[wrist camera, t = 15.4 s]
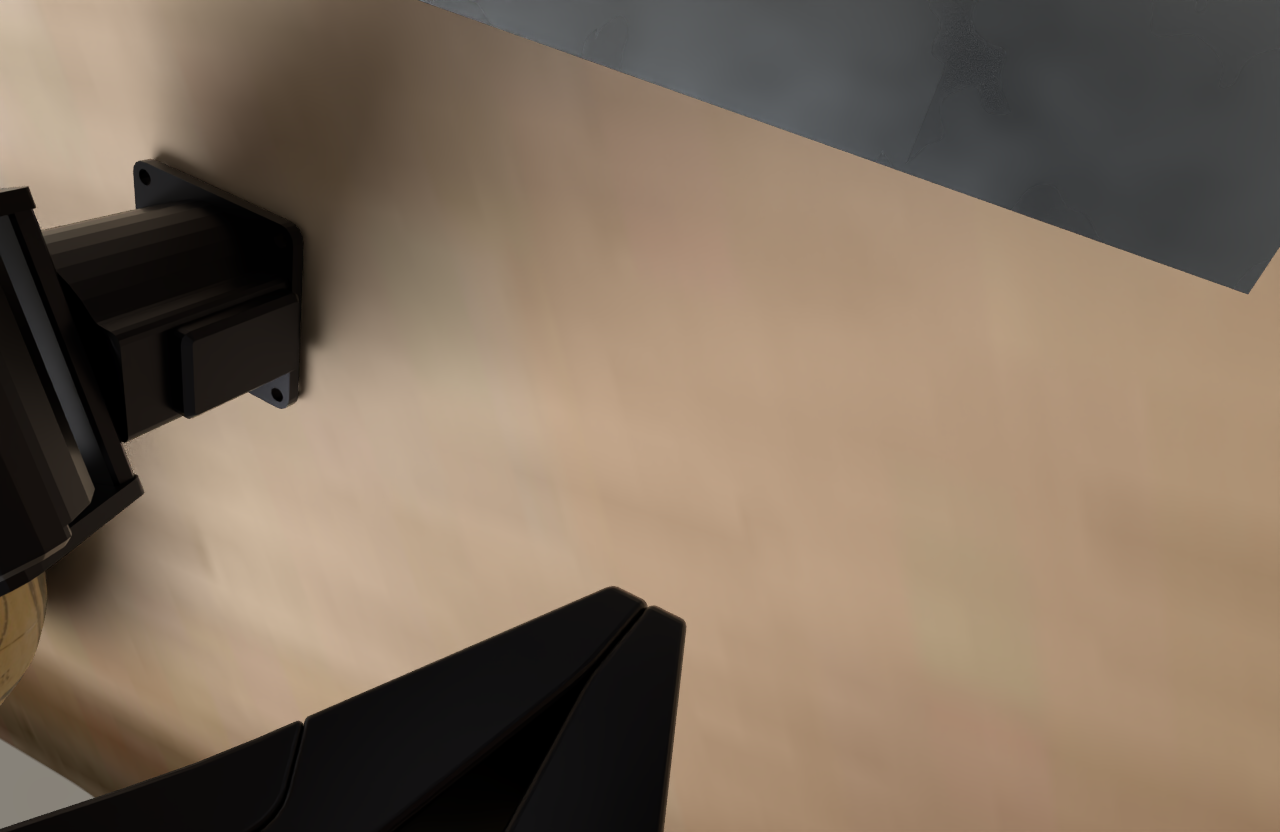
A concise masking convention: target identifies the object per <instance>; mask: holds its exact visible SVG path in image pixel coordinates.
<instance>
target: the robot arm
mask: <svg viewBox="0 0 1280 832" xmlns="http://www.w3.org/2000/svg"><path fill="white" fill-rule="evenodd" d="M133 175H134V189H135V204H136V209H135V210H130V211H126V212H121V213H117V214H112V215H108V216H103V217H99V218H94V219H90V220H85V221H81V222H76V223H72V224H68V225H63V226H59V227H54V228H50V229H45V230H41V229H40V227H39V224H38V221H37V219H36V216H35V214H34V211H33V209H34V208H36V205H35V202H34V200H33V197H32V194H31V192H30V189H29V186H26V187H13V188H1V189H0V597H1V596H3V595H5V594H8V593H10V592H12V591H14V590H16V589H17V588H19V587H21V586H23V585H25V584H26V583H28V582H30V581H31V580H33V579H34V578H36V577H37V576H39V575H40V574H42V573H43V572H45V571H46V570H47V569H48V568H50V567H51V566H52V565H53V564H55V563H56V562H57V561H59V560H60V559H61V558H62V557H64V556H65V555H66V554H67V553H69V552H70V551H71V550H73V549H74V548H75V547H76V546H78V545H79V544H80V543H82V542H83V541H84V540H85V539H87V538H88V537H89V536H90V535H92V534H93V533H94V532H96V531H97V530H98V529H99V528H101V527H102V526H103V525H104V524H106V523H107V522H108V521H110V520H111V519H112V518H113V517H115V516H116V515H117V514H119V513H120V512H121V511H122V510H124V509H125V508H126V507H127V506H129V505H130V504H131V503H133V502H134V501H135V500H136V499H138V498H139V497H140V496H141V495H143V494H144V490H143V487H142V485H141V482H140V479H139V477H138V475H136V474H134V473H133V471H132V468H131V466H130V463H129V460H128V458H127V455H126V452H125V450H124V447H123V445H122V442H124V443H125V442H128V441H130V440H132V439H134V438H136V437H138V436H141V435H143V434H145V433H147V432H149V431H151V430H153V429H156V428H158V427H160V426H162V425H164V424H166V423H169V422H171V421H173V420H175V419H177V418H179V417H181V416H184V417H186V418H188V419H191V418H194V417H196V416H199V415H201V414H203V413H205V412H207V411H209V410H211V409H213V408H215V407H218V406H220V405H222V404H224V403H226V402H228V401H230V400H232V399H235V398H237V397H239V396H241V395H243V394H245V393H247V392H249V393H250V394H252V395H254V396H256V397H258V398H260V399H262V400H264V401H266V402H267V403H269V404H271V405H273V406H275V407H277V408H280V409H283V408H286V407H288V406H290V405H292V404H294V403H295V402H296V401H297V398H298V379H299V350H300V322H301V293H302V265H303V237H302V234H301V232H300V230H299V229H298V227H297V226H296V225H295V224H294V223H292V222H291V221H288V220H286V219H284V218H282V217H280V216H277V215H275V214H273V213H271V212H269V211H266V210H264V209H262V208H260V207H258V206H256V205H253V204H251V203H249V202H247V201H245V200H242V199H240V198H238V197H236V196H234V195H231V194H229V193H227V192H225V191H223V190H220V189H218V188H216V187H214V186H212V185H209V184H207V183H205V182H203V181H201V180H198V179H196V178H194V177H192V176H190V175H187V174H185V173H183V172H181V171H179V170H176V169H174V168H172V167H170V166H168V165H166V164H163V163H161V162H159V161H157V160H154V159H148V160H142V161H138V162H136V163H135V165H134V169H133ZM284 236H285V238H286V240H285V239H284ZM286 241H287V242H286ZM685 635H686V623H685V621H684V620H683V619H682V618H680V617H678V616H676V615H674V614H672V613H670V612H668V611H666V610H664V609H662V608H660V607H657V606H649V607H647V604H646V602H645V601H644V600H643V599H641V598H639V597H637V596H635V595H633V594H631V593H629V592H627V591H625V590H623V589H621V588H619V587H616V586H611V587H607V588H604V589H602V590H599V591H597V592H595V593H593V594H590V595H588V596H586V597H583V598H581V599H579V600H576V601H574V602H572V603H569V604H567V605H565V606H562V607H560V608H558V609H555V610H553V611H551V612H549V613H546V614H544V615H542V616H539V617H537V618H535V619H532V620H530V621H528V622H525V623H523V624H521V625H518V626H516V627H514V628H512V629H509V630H507V631H505V632H502V633H500V634H498V635H495V636H493V637H491V638H488V639H486V640H484V641H481V642H479V643H477V644H475V645H472V646H470V647H468V648H465V649H463V650H461V651H458V652H456V653H454V654H451V655H449V656H447V657H444V658H442V659H440V660H437V661H435V662H433V663H431V664H428V665H426V666H424V667H421V668H419V669H417V670H414V671H412V672H410V673H407V674H405V675H403V676H400V677H398V678H396V679H394V680H391V681H389V682H387V683H384V684H382V685H380V686H377V687H375V688H373V689H370V690H368V691H366V692H363V693H361V694H359V695H357V696H354V697H352V698H350V699H347V700H345V701H343V702H340V703H338V704H336V705H333V706H331V707H329V708H326V709H324V710H322V711H319V712H317V713H315V714H313V715H310V716H308V717H307V718H306V719H305V722H304V726H303V723H302V722H301V721H296V722H293V723H291V724H289V725H286V726H284V727H282V728H279V729H277V730H275V731H272V732H270V733H268V734H265V735H263V736H261V737H258V738H256V739H254V740H251V741H249V742H246V743H244V744H241V745H239V746H236V747H234V748H231V749H229V750H226V751H224V752H221V753H219V754H216V755H214V756H211V757H209V758H207V759H204V760H202V761H199V762H197V763H194V764H191V765H188V766H186V767H183V768H180V769H177V770H174V771H171V772H169V773H166V774H163V775H160V776H157V777H154V778H152V779H149V780H146V781H143V782H140V783H137V784H135V785H132V786H129V787H126V788H123V789H120V790H117V791H114V792H111V793H108V794H105V795H102V796H99V797H96V798H93V799H90V800H87V801H84V802H81V803H78V804H75V805H72V806H69V807H66V808H63V809H60V810H56V811H53V812H51V813H47V814H44V815H41V816H38V817H35V818H33V819H29V820H26V821H23V822H20V823H17V824H14V825H11V826H8V827H5V828H2V829H0V832H664V823H665V814H666V805H667V796H668V787H669V778H670V769H671V760H672V752H673V743H674V734H675V725H676V716H677V707H678V698H679V689H680V680H681V671H682V662H683V653H684V644H685Z"/></svg>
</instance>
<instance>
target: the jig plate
mask: <svg viewBox="0 0 1280 832" xmlns="http://www.w3.org/2000/svg"><path fill="white" fill-rule="evenodd" d="M419 1H422V2H425V3H428V4H431V5H433V6H436V7H439V8H442V9H445V10H447V11H450V12H453V13H456V14H459V15H462V16H464V17H467V18H470V19H473V20H476V21H479V22H481V23H484V24H487V25H490V26H493V27H495V28H498V29H501V30H504V31H507V32H510V33H512V34H515V35H518V36H521V37H524V38H526V39H529V40H532V41H535V42H538V43H541V44H543V45H546V46H549V47H552V48H555V49H557V50H560V51H563V52H566V53H569V54H572V55H574V56H577V57H580V58H583V59H586V60H589V61H591V62H594V63H597V64H600V65H603V66H605V67H608V68H611V69H614V70H617V71H620V72H622V73H625V74H628V75H631V76H634V77H636V78H639V79H642V80H645V81H648V82H651V83H653V84H656V85H659V86H662V87H665V88H667V89H670V90H673V91H676V92H679V93H682V94H684V95H687V96H690V97H693V98H696V99H698V100H701V101H704V102H707V103H710V104H713V105H715V106H718V107H721V108H724V109H727V110H730V111H732V112H735V113H738V114H741V115H744V116H746V117H749V118H752V119H755V120H758V121H761V122H763V123H766V124H769V125H772V126H775V127H777V128H780V129H783V130H786V131H789V132H792V133H794V134H797V135H800V136H803V137H806V138H808V139H811V140H814V141H817V142H820V143H823V144H825V145H828V146H831V147H834V148H837V149H839V150H842V151H845V152H848V153H851V154H854V155H856V156H859V157H862V158H865V159H868V160H871V161H873V162H876V163H879V164H882V165H885V166H887V167H890V168H893V169H896V170H899V171H902V172H904V173H907V174H910V175H913V176H916V177H918V178H921V179H924V180H927V181H930V182H933V183H935V184H938V185H941V186H944V187H947V188H949V189H952V190H955V191H958V192H961V193H964V194H966V195H969V196H972V197H975V198H978V199H981V200H983V201H986V202H989V203H992V204H995V205H997V206H1000V207H1003V208H1006V209H1009V210H1012V211H1014V212H1017V213H1020V214H1023V215H1026V216H1028V217H1031V218H1034V219H1037V220H1040V221H1043V222H1045V223H1048V224H1051V225H1054V226H1057V227H1059V228H1062V229H1065V230H1068V231H1071V232H1074V233H1076V234H1079V235H1082V236H1085V237H1088V238H1091V239H1093V240H1096V241H1099V242H1102V243H1105V244H1107V245H1110V246H1113V247H1116V248H1119V249H1122V250H1124V251H1127V252H1130V253H1133V254H1136V255H1138V256H1141V257H1144V258H1147V259H1150V260H1153V261H1155V262H1158V263H1161V264H1164V265H1167V266H1169V267H1172V268H1175V269H1178V270H1181V271H1184V272H1186V273H1189V274H1192V275H1195V276H1198V277H1200V278H1203V279H1206V280H1209V281H1212V282H1215V283H1217V284H1220V285H1223V286H1226V287H1229V288H1232V289H1234V290H1237V291H1240V292H1243V293H1246V294H1249V292H1250V291H1251V289H1252V288H1253V286H1254V285H1255V283H1256V282H1257V280H1258V279H1259V277H1260V276H1261V274H1262V273H1263V271H1264V270H1265V268H1266V267H1267V265H1268V264H1269V262H1270V261H1271V259H1272V258H1273V256H1274V255H1275V253H1276V252H1277V250H1278V249H1279V247H1280V0H419Z"/></svg>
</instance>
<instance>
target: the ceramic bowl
mask: <svg viewBox="0 0 1280 832" xmlns="http://www.w3.org/2000/svg"><path fill="white" fill-rule="evenodd" d="M46 605H47V586H46V574H45V572H43V573H42V574H40V575H39V576H37V577H36V578H34V579H33V580H31V581H30V582H28V583H26V584H25V585H23V586H21V587H19V588H17V589H16V590H14V591H12V592H10V593H8V594H5V595H3V596H1V597H0V705H1V704H2V703H3V701H4V700H5V699H6V698H7V696H8V695H9V694H10V693H11V691H12V690H13V689H14V687H15V686H16V685H17V684H18V682H19V681H20V680H21V678H22V676H23V675H24V673H25V672H26V670H27V669H28V667H29V665H30V664H31V662H32V660H33V657H34V655H35V652H36V649H37V646H38V643H39V639H40V635H41V631H42V628H43V624H44V618H45V613H46Z"/></svg>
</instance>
